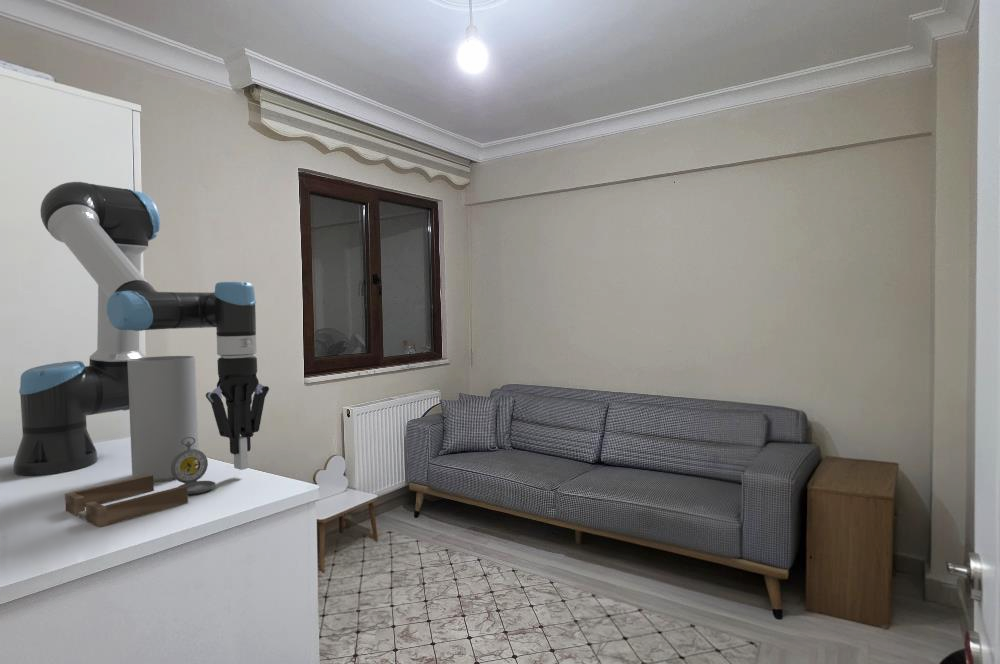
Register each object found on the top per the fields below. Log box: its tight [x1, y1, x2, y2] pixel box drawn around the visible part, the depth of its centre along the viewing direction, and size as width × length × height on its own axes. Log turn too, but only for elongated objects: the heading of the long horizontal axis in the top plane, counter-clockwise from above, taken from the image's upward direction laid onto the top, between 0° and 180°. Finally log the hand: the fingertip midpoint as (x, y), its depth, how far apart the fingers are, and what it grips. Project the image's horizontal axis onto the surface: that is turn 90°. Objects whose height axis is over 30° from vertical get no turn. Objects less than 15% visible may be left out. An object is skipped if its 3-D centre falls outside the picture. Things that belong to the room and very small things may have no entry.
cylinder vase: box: [127, 355, 199, 482], centre depth 126 cm, size 12×12×25 cm
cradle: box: [64, 474, 189, 528], centre depth 105 cm, size 14×14×3 cm
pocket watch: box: [171, 437, 216, 495], centre depth 115 cm, size 8×8×10 cm
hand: (241, 468), depth 123 cm, fingers closed
